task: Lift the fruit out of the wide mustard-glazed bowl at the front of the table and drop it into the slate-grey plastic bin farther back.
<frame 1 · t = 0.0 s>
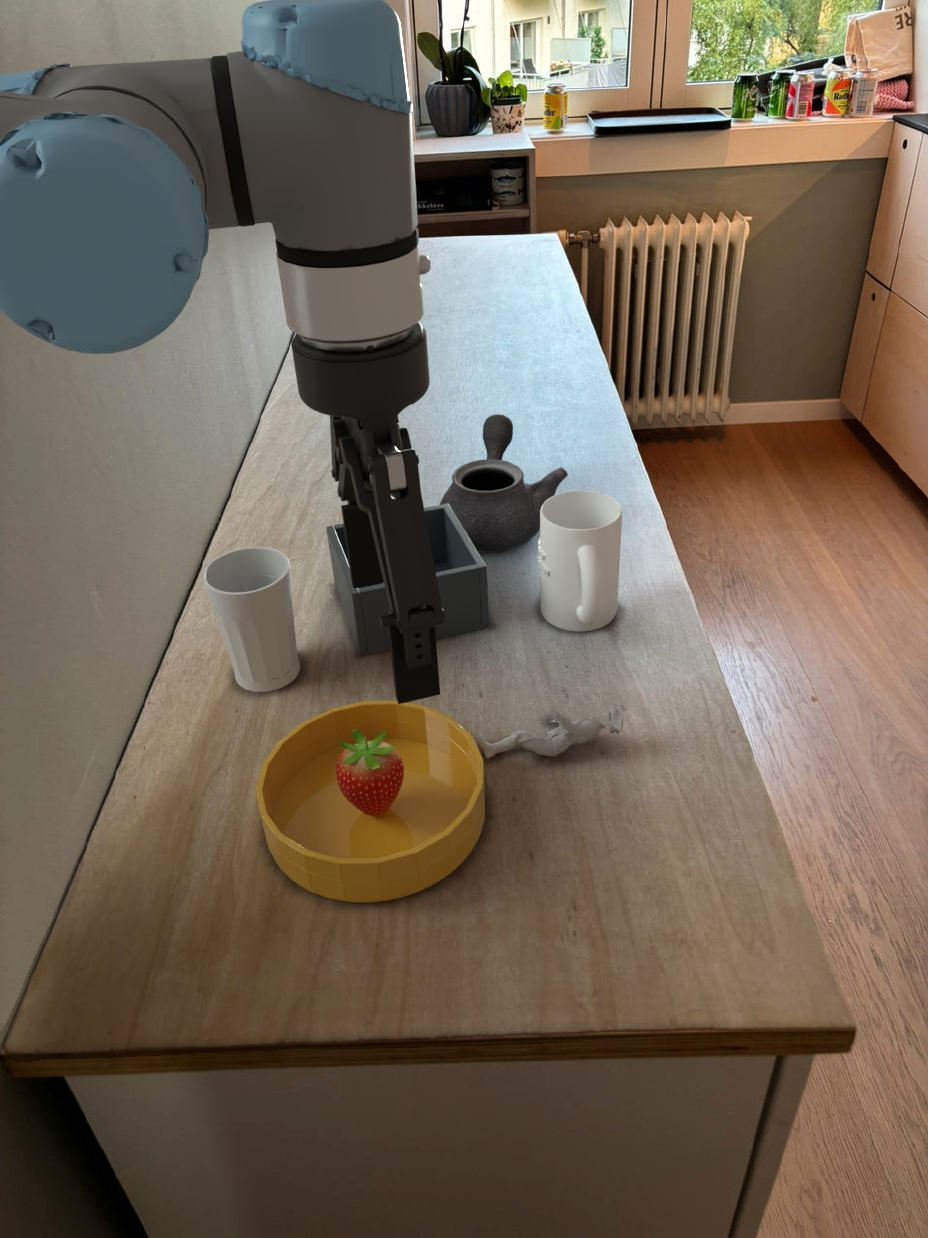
hand: (392, 635, 67), 20 cm above the table, tool pointing down, fingers open, 13 cm apart
bin: (409, 605, 105), on the table
soldier figure: (549, 753, 86), on the table
mug: (580, 622, 101), on the table
bowl: (376, 813, 81), on the table
cup: (268, 672, 97), on the table
fruit: (375, 810, 81), resting on bowl
teapot: (500, 519, 119), on the table
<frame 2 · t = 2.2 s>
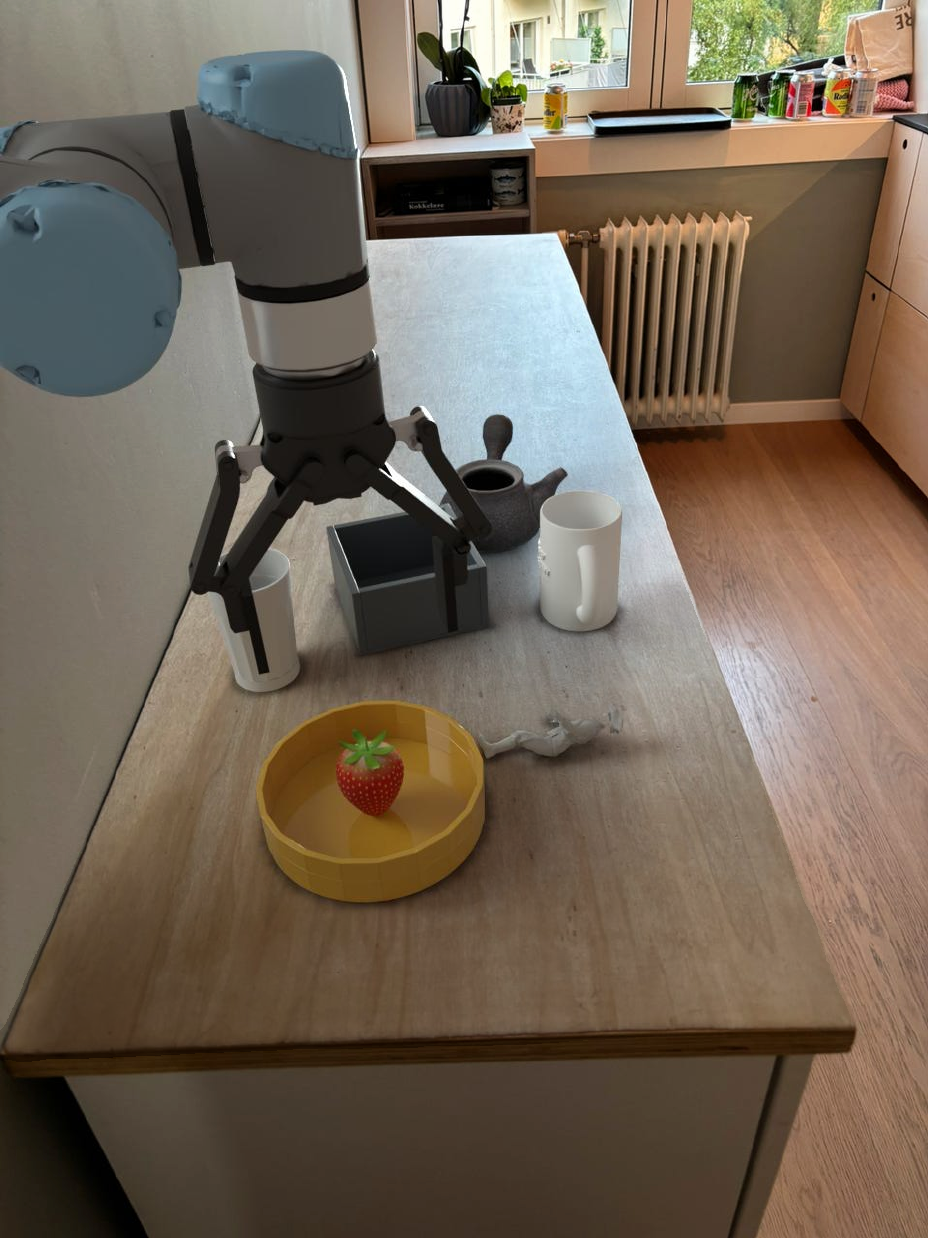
hand: (356, 642, 70), 18 cm above the table, tool pointing down, fingers open, 13 cm apart
nothing on the table moved.
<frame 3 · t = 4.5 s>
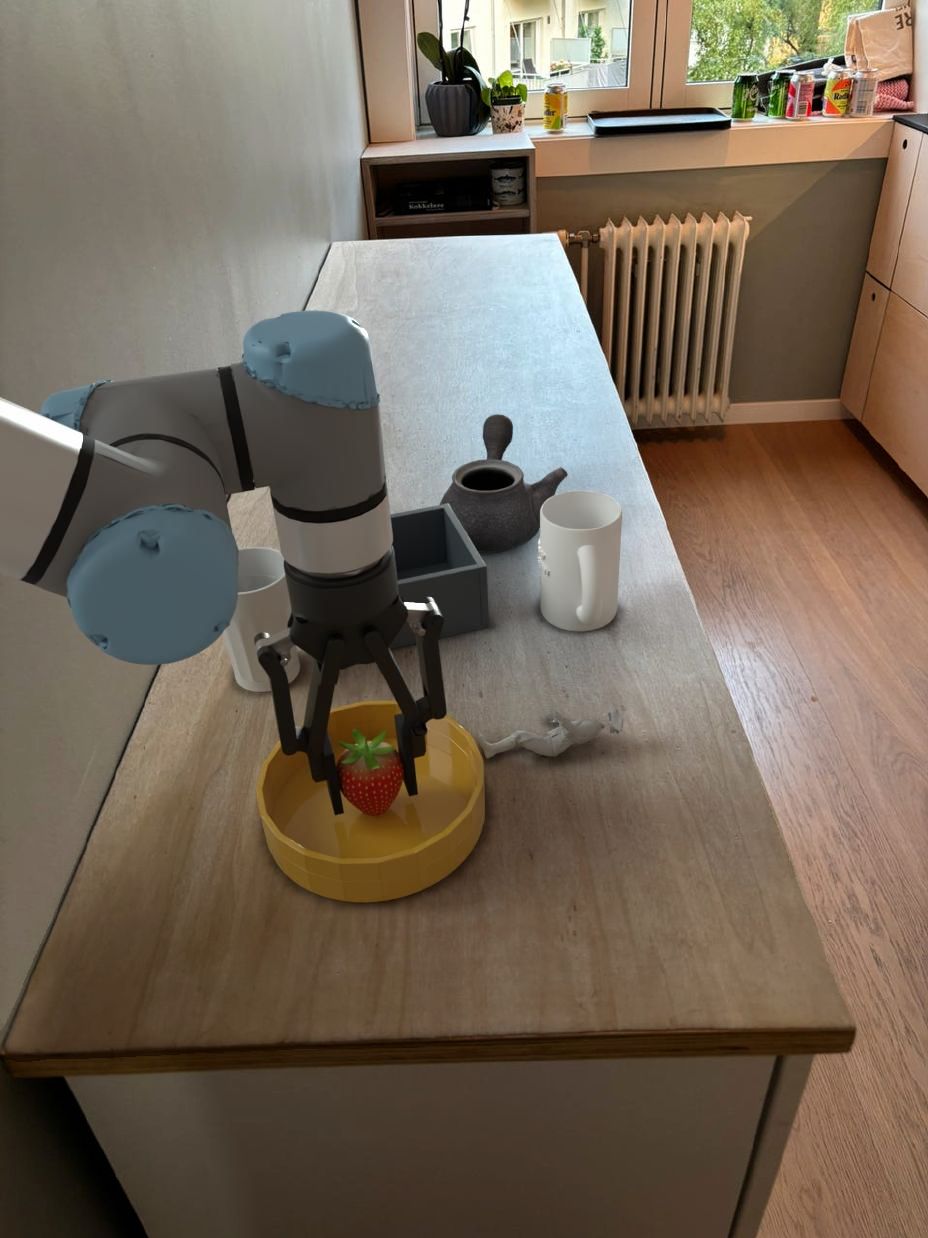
hand: (373, 792, 80), 2 cm above the table, tool pointing down, fingers closed on fruit, 5 cm apart
fruit: (375, 810, 81), resting on bowl, touching gripper
everything else where it was.
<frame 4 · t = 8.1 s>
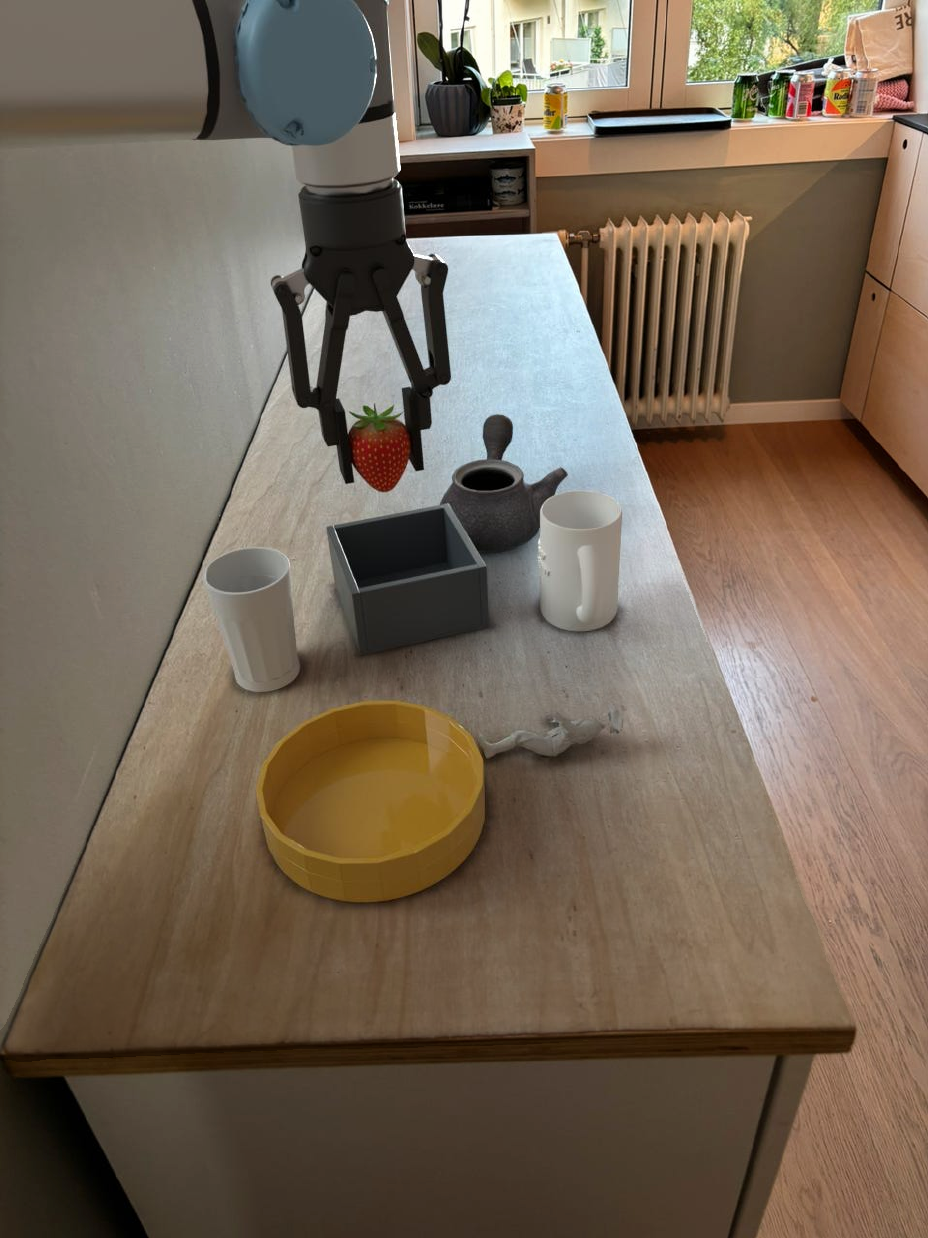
hand: (381, 469, 84), 21 cm above the table, tool pointing down, fingers closed on fruit, 5 cm apart
fruit: (384, 491, 86), point 19 cm above the table, touching gripper
everything else where it was.
when the fingers open (8 cm above the table, at t = 11.5 s): fruit drops 4 cm, resting on bin.
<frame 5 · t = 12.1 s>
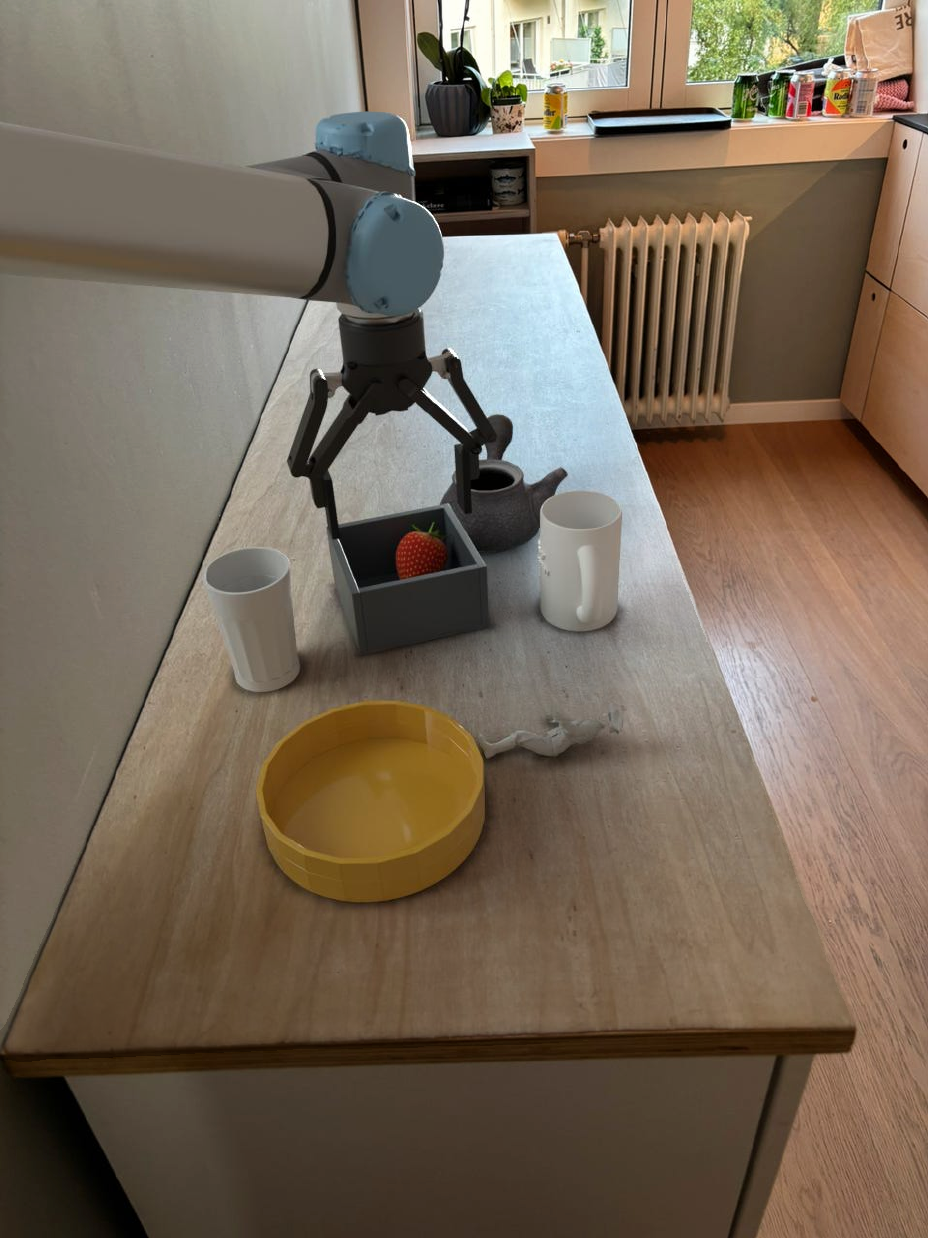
hand: (400, 520, 99), 11 cm above the table, tool pointing down, fingers open, 13 cm apart
fruit: (408, 594, 104), point 1 cm above the table, touching bin
everything else where it was.
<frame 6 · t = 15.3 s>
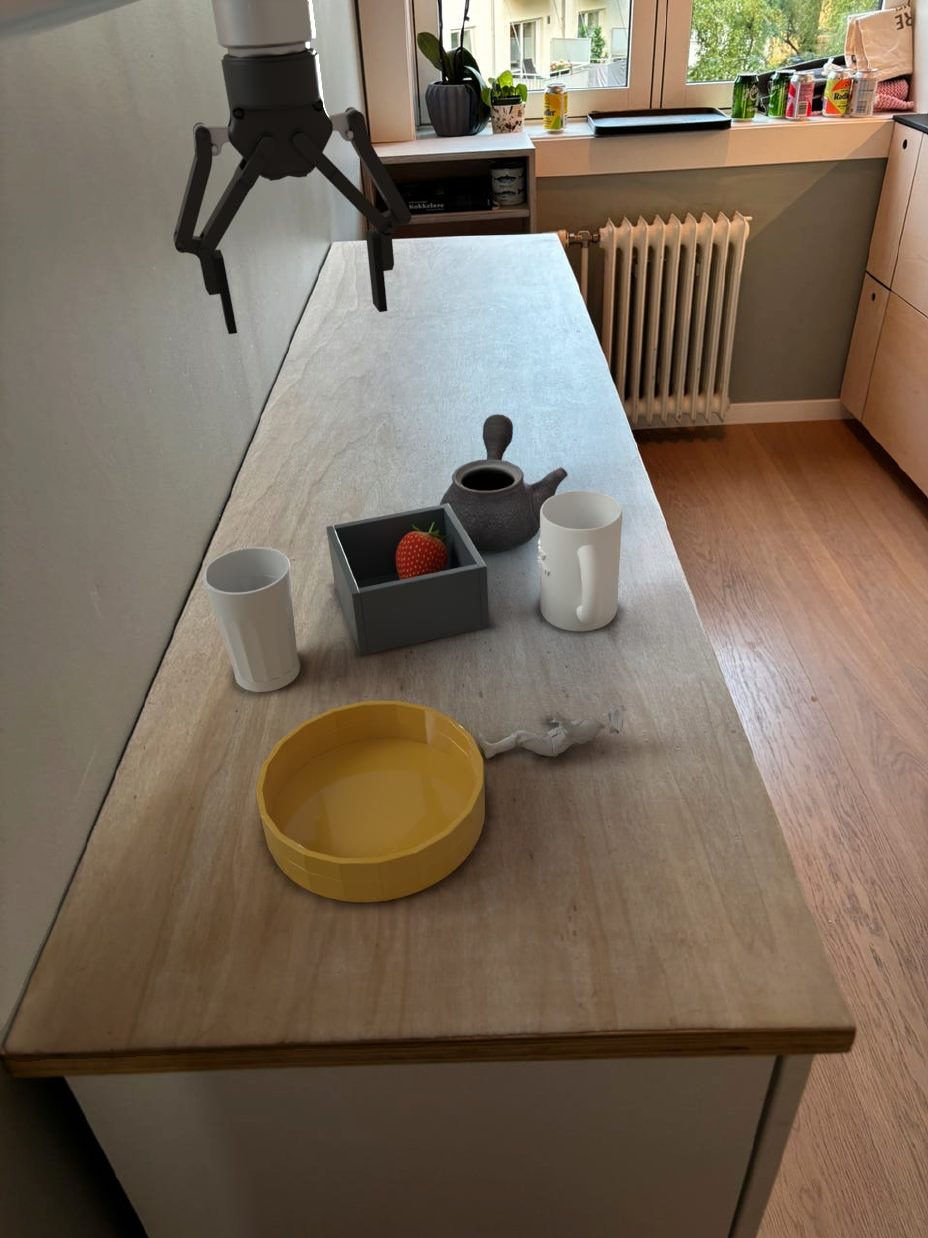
hand: (307, 318, 89), 31 cm above the table, tool pointing down, fingers open, 13 cm apart
nothing on the table moved.
at the end: fruit inside the target area in the bin (0.2 cm from its centre), point 1.3 cm above the bin's base; the gripper is holding nothing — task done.
